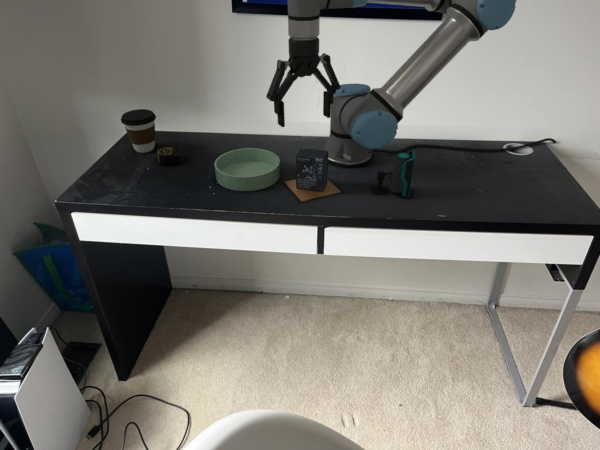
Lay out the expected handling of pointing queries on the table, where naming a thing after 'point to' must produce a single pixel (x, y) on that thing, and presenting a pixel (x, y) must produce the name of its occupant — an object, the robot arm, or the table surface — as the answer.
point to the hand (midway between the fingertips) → (304, 120)
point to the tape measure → (168, 155)
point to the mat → (308, 194)
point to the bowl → (247, 169)
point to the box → (311, 169)
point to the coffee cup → (140, 129)
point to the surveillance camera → (398, 175)
